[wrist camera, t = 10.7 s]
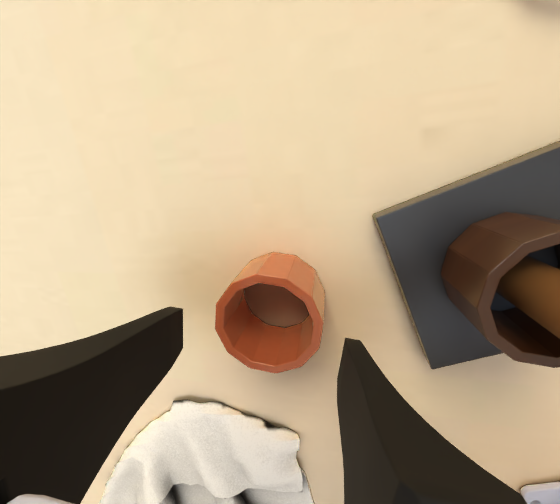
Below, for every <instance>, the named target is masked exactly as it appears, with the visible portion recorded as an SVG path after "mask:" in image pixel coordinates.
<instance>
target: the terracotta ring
mask: <svg viewBox="0 0 560 504" xmlns="http://www.w3.org/2000/svg"><path fill="white" fill-rule="evenodd" d="M257 283H262V284H269V285H275V286H281V287H284V288H286V289H287V290H288V291H290V292H291V293H293V294H294V295H295V296H297V297H298V298H299V299H301V300H302V301H303V302H304V303H305V305H306V308H307V310H308V312H309V314H310V315H309V316H308V317H307V318H306V319H305V320H304V321H303V322H302V323H299V324H296V325H293V326H290V327H286V328H283V327H278V326H272V325H267V324H265V323H264V322H263V321H261V320H260V319H259V318H257V317H256V316H255V315H253V314H252V313H251V311H250V309H249V307H248V305H247V303H246V301H245V299H244V291H245V288H247V287H249V286H252V285H255V284H257ZM324 295H325V292H324V289H323V286H322V284H321V282H320V279H319V277H318V275H317V272H316V271H315V269H313V268H312V267H311V266H309V265H308V264H307V263H305V262H304V261H303V260H301V259H300V258H299V257H297V256H295V255H289V254H282V253H276V252H271V253H268V254H266V255H263V256H260V257H258V258H255V259H253V260H251V261H250V262H249V263H248V264H247V265H246V266H245V268H244V269H243V270H242V271H241V272H240V274H239V275H238V276H237V277H236V278H235V279H234V281H233V282H232V283H231V284H230V285H229V287H228V288H227V290H226V291H225V292H224V294H223V295H222V296H221V298H220V299H219V301H218V302H217V304H216V320H215V329H216V332H217V334H218V335H219V337H220V339H221V341H222V343H223V345H224V347H225V348H226V350H227V352H228V353H229V354H231V355H232V356H233V357H235V358H236V359H238V360H239V361H240V362H242V363H243V364H244V365H246V366H247V367H249V368H251V369H256V370H261V371H266V372H271V373H280V372H284V371H288V370H291V369H295V368H299V367H301V366H303V365H304V364H305V363H306V362H307V361H308V360H309V359H310V358H311V356H312V355H313V354H314V353H315V352H316V351H317V350H318V349H319V348H320V342H321V336H322V330H323V324H324Z"/></svg>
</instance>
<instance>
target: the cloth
mask: <svg viewBox="0 0 560 504" xmlns="http://www.w3.org/2000/svg"><path fill="white" fill-rule="evenodd" d="M299 442H300V438H299V437H298V435H297V433H296V432H294V431H292V430H290V429H288V428H282V427H274V426H273V425H271V424H269V423H268V422H266V421H265V420H262V419H260V418H257V417H255V416H247V415H244V414H243V413H242V412H240V411H238V410H235V409H233V408H231V407H229V406H227V405H225V404H223V403H219V402H205V403H196V402H193V401H190V400H179V401H173V404H172V407H171V410H170V411H169V412H165V413H164V414H163V415H162V416H161V417H159V418H157V419H155V420H153V421H152V422H150V423H149V424H148V425H147V426H146V427H145V428H144V429H143V430H142V431H141V432H140V433H139V434H138V435H136V437H135V438H134V440H133V441H132V443H131V444H130V445H129V447H128V448H127V449H125V450H124V453H123V455H122V457H121V459H120V461H119V462H118V463H117V464H116V465H115V468H114V471H113V473H112V475H111V477H110V478H109V480H108V481H107V483H106V485H105V491H104V494H103V497H102V499H101V500H100V502H99V504H314V502H313V499H312V496H311V492H310V488H309V485H308V481H307V478H306V474H305V472H304V471H303V470H302V469H301V468H300V467H299V465H298V462H297V460H296V454H297V451H298V450H299Z"/></svg>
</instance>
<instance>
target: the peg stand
mask: <svg viewBox="0 0 560 504" xmlns="http://www.w3.org/2000/svg"><path fill="white" fill-rule="evenodd" d="M504 212H511V213H520V214H529V215H538V216H543V217H547V218H552V219H556V220H560V141H559V142H556V143H553V144H551V145H548V146H546V147H543V148H541V149H538V150H536V151H533V152H530V153H528V154H525V155H523V156H520V157H518V158H515V159H513V160H510V161H508V162H505V163H502V164H500V165H497V166H495V167H492V168H490V169H487V170H485V171H482V172H479V173H477V174H474V175H472V176H469V177H467V178H464V179H462V180H459V181H456V182H454V183H451V184H449V185H446V186H444V187H441V188H439V189H436V190H434V191H431V192H428V193H426V194H423V195H421V196H418V197H416V198H413V199H411V200H408V201H405V202H403V203H400V204H398V205H395V206H393V207H390V208H388V209H385V210H382V211H380V212H377V213H375V214H373V218H374V220H375V223H376V226H377V228H378V231H379V234H380V236H381V239H382V242H383V245H384V247H385V250H386V253H387V255H388V258H389V261H390V263H391V266H392V269H393V271H394V274H395V277H396V280H397V282H398V285H399V288H400V290H401V293H402V296H403V298H404V301H405V304H406V306H407V309H408V312H409V315H410V317H411V320H412V323H413V325H414V328H415V331H416V333H417V336H418V339H419V342H420V344H421V347H422V350H423V352H424V355H425V357H426V359H427V361H428V363H429V365H430V367H431V369H437V368H441V367H445V366H449V365H454V364H458V363H462V362H467V361H471V360H475V359H480V358H484V357H488V356H493V355H497V354H501V353H504V352H502V351H501V350H500V349H498V348H497V347H496V346H494V345H493V344H492V343H490V342H489V341H488V340H487V339H486V338H485V337H484V336H483V335H482V334H481V333H480V332H479V331H478V330H477V329H476V328H475V326H474V325H473V324H472V323H471V322H470V321H469V320H468V319H467V318H466V317H465V316H464V315H463V313H462V312H461V311H460V310H459V309H458V308H457V307H456V306H455V305H454V304H453V303H452V302H451V300H450V299H449V298H448V295H447V292H446V289H445V286H444V283H443V280H442V277H441V270H442V267H443V263H444V260H445V257H446V253H447V250H448V247H449V246H450V245H451V244H452V243H453V242H454V241H455V240H456V239H457V238H458V237H459V236H460V235H461V234H462V233H463V232H464V231H465V230H466V229H467V228H468V227H469V226H470V225H471V224H473V223H475V222H478V221H481V220H484V219H487V218H490V217H492V216H495V215H498V214H501V213H504ZM558 264H559V263H558V259H557V255H556V251H555V247H554V246H551V247H548V248H545V249H541V250H538V251H535V252H532V253H529V254H528V255H527V256H525V257H524V258H523V259H522V260H521V261H520V262H519V263H517V264H516V265H515V266H514V267H513V268H512V269H510V270H509V271H508V272H507V273H506V274H505V275H504V276H502V277H501V279H500V281H499V284H498V287H497V290H496V292H495V295H494V298H493V301H492V304H491V306H490V308H491V310H494V311H500V312H501V311H504V310H508V309H512V308H516V307H517V308H518V309H520V310H521V311H522V312H524V313H525V314H526V315H528V316H529V317H530V318H532V319H533V320H535V321H536V322H537V323H539V324H540V325H541V326H543V327H544V328H545V329H547V330H548V331H549V332H551V333H552V334H553V335H555V336H556V337H558V338H559V339H560V269H557V266H558Z"/></svg>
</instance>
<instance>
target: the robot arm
mask: <svg viewBox="0 0 560 504" xmlns="http://www.w3.org/2000/svg"><path fill="white" fill-rule="evenodd" d="M182 349H183V309H181V308H175V307H167V308H164V309H161V310H159V311H156V312H154V313H151V314H149V315H146V316H144V317H141V318H139V319H136V320H134V321H131V322H129V323H126V324H124V325H121V326H118V327H116V328H113V329H110V330H107V331H105V332H102V333H99V334H96V335H93V336H90V337H87V338H83V339H80V340H76V341H73V342H69V343H66V344H61V345H57V346H53V347H48V348H44V349H40V350H35V351H30V352H25V353H19V354H13V355H7V356H1V357H0V504H80V503H81V501H82V499H83V498H84V496H85V494H86V492H87V491H88V489H89V487H90V485H91V484H92V482H93V480H94V478H95V477H96V475H97V473H98V472H99V470H100V468H101V467H102V465H103V463H104V462H105V460H106V458H107V457H108V455H109V454H110V452H111V450H112V449H113V447H114V445H115V444H116V442H117V441H118V439H119V438H120V436H121V435H122V433H123V431H124V430H125V428H126V427H127V425H128V424H129V422H130V421H131V419H132V418H133V417H134V415H135V414H136V412H137V411H138V410H139V409H140V407H141V406H142V405H143V403H144V402H145V401H146V400H147V398H148V397H149V396H150V395H151V393H152V392H153V391H154V389H155V388H156V387H157V386H158V384H159V383H160V382H161V381H162V379H163V378H164V377H165V375H166V374H167V373H168V371H169V370H170V369H171V367H172V366H173V364H174V362H175V361H176V359H177V357H178V356H179V354H180V352H181V350H182ZM337 406H338V416H339V425H340V435H341V444H342V454H343V466H344V504H560V481H559V482H550V483H542V484H533V485H526V486H524V487H522V489H521V495H520V494H519V493H518V492H516V491H515V490H513V489H512V488H510V487H509V486H507V485H506V484H505V483H503V482H502V481H500V480H499V479H497V478H496V477H495V476H493V475H492V474H490V473H489V472H487V471H486V470H484V469H483V468H482V467H480V466H479V465H478V464H476V463H475V462H474V461H472V460H471V459H470V458H469V457H467V456H466V455H465V454H463V453H462V452H461V451H460V450H458V449H457V448H456V447H455V446H453V445H452V444H451V443H450V442H449V441H447V440H446V439H445V438H444V437H443V436H442V435H440V434H439V433H438V432H437V431H436V430H435V429H434V428H433V427H432V426H430V425H429V424H428V423H427V422H426V421H425V420H424V419H423V418H422V417H421V416H420V415H419V414H418V413H417V412H416V411H415V410H414V409H413V408H412V407H411V406H410V405H409V404H408V403H407V402H406V401H405V400H404V398H403V397H402V396H401V395H400V394H399V393H398V392H397V390H396V389H395V388H394V387H393V386H392V384H391V383H390V382H389V381H388V379H387V378H386V377H385V375H384V374H383V373H382V371H381V370H380V369H379V367H378V366H377V364H376V363H375V362H374V360H373V359H372V357H371V356H370V354H369V353H368V351H367V350H366V348H365V347H364V345H363V344H362V342H361V341H360V340H355V339H349V338H345V342H344V347H343V352H342V357H341V363H340V368H339V373H338V378H337Z"/></svg>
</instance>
